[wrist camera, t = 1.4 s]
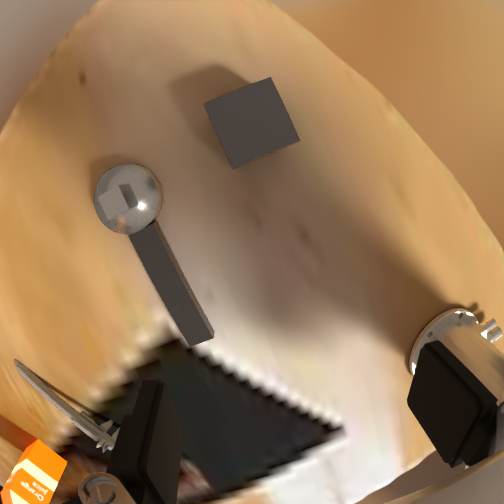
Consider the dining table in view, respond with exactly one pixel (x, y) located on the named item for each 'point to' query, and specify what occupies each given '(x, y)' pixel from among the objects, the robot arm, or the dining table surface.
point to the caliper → (72, 411)
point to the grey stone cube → (251, 122)
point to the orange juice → (34, 476)
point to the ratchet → (150, 242)
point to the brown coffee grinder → (0, 495)
